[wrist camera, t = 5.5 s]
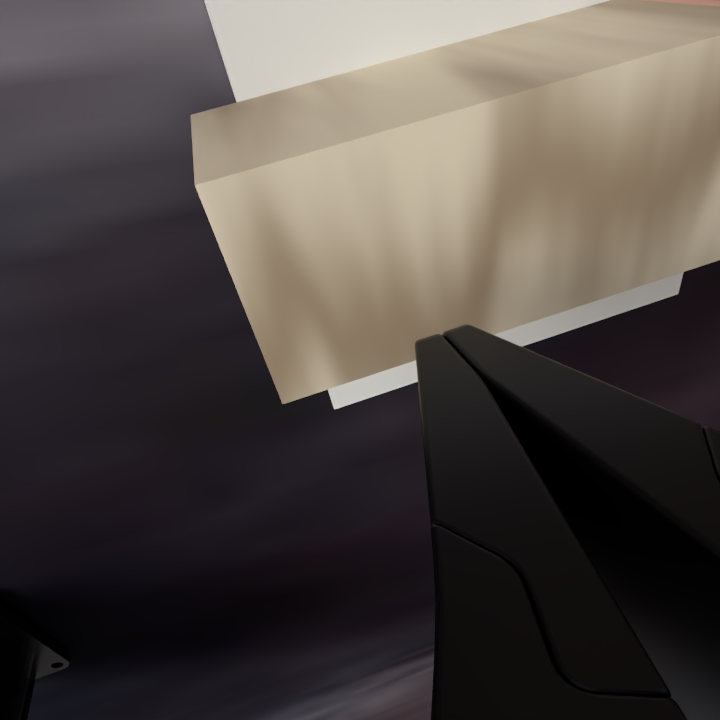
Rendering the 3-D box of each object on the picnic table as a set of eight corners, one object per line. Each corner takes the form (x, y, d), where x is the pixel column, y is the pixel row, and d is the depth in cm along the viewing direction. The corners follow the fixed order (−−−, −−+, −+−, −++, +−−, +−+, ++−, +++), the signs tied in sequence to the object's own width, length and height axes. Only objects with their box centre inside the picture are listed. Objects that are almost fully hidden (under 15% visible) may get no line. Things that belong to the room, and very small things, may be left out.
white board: (667, 286, 21) (677, 293, 20) (330, 398, 19) (334, 409, 19) (819, -386, 10) (849, -402, 10) (127, -240, 9) (125, -250, 9)
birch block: (257, 293, 15) (625, 179, 16) (282, 404, 11) (760, 246, 12) (190, 115, 12) (652, -12, 13) (194, 184, 8) (847, -2, 9)
